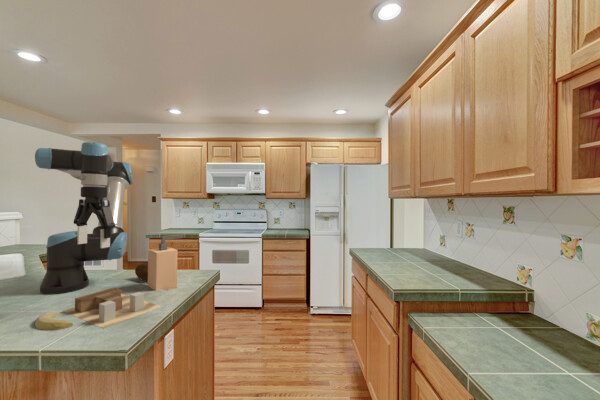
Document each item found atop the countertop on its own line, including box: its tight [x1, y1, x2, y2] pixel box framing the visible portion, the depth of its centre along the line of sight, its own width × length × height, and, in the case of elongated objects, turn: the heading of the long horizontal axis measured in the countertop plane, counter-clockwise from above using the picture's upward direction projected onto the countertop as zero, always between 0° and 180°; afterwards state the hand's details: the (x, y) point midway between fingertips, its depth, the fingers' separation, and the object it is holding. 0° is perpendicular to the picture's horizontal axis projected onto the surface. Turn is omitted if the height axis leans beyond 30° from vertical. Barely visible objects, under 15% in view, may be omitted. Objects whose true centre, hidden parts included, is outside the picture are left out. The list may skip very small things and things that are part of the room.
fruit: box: [34, 311, 74, 331], centre depth 78 cm, size 7×15×3 cm, turn 49°
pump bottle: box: [147, 233, 184, 291], centre depth 114 cm, size 13×9×22 cm
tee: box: [74, 287, 122, 313], centre depth 89 cm, size 12×12×4 cm
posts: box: [99, 291, 145, 323], centre depth 84 cm, size 3×12×5 cm, turn 153°
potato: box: [134, 260, 148, 282], centre depth 123 cm, size 8×12×9 cm
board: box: [62, 293, 162, 329], centre depth 89 cm, size 24×18×1 cm
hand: (93, 245), depth 95 cm, fingers open, 13 cm apart
